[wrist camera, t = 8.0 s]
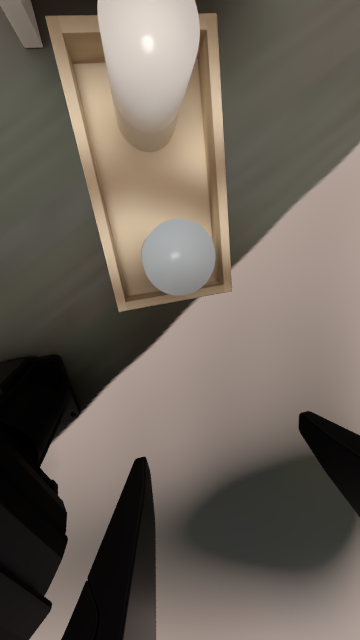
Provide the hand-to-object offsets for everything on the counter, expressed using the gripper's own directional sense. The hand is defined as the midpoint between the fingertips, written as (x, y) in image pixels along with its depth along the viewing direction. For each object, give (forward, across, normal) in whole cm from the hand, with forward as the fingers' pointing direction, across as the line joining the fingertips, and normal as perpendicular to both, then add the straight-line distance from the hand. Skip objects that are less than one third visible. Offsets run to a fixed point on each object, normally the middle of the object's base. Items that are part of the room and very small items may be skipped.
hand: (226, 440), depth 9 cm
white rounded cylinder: (+11, 0, -16) cm, 19 cm away
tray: (+12, 0, -11) cm, 16 cm away
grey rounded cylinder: (+11, 0, -7) cm, 13 cm away
